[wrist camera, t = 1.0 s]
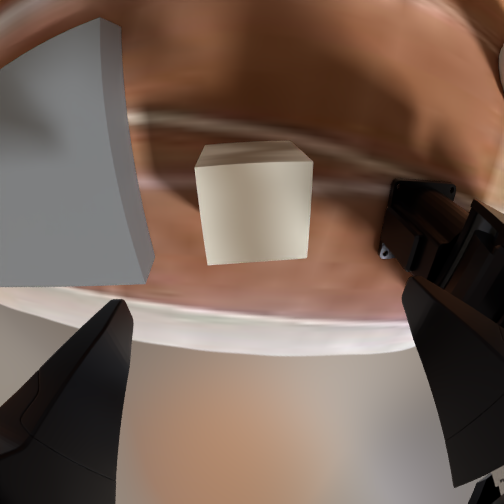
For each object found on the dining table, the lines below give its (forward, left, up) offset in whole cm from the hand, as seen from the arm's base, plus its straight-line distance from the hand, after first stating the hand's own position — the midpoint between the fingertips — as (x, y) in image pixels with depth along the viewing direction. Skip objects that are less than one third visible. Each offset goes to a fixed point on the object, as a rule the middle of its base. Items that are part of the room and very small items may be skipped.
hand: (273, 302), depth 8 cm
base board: (+15, -3, -10) cm, 18 cm away
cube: (0, 0, -11) cm, 11 cm away
